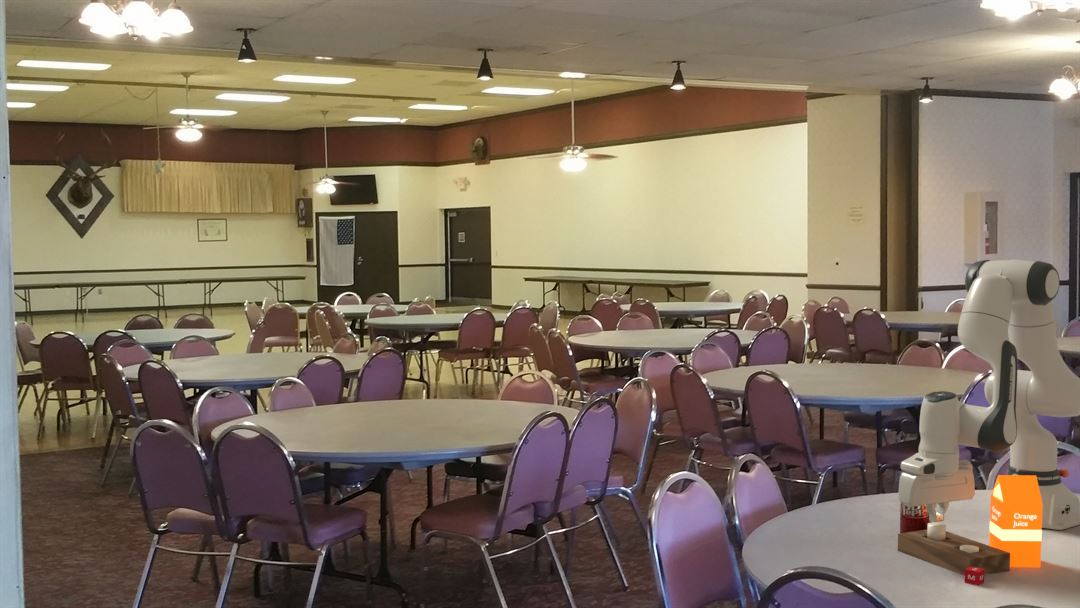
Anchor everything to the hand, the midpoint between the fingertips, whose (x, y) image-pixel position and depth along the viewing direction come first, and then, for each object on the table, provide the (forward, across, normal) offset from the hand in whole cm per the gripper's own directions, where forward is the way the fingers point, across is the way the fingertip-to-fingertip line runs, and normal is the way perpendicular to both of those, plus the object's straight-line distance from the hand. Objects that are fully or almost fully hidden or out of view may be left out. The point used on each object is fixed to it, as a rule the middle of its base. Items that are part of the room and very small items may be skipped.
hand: (936, 521), depth 257 cm
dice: (+8, +7, +19) cm, 22 cm away
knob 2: (+7, 0, +10) cm, 12 cm away
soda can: (+8, -5, -12) cm, 15 cm away
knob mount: (+8, 0, +5) cm, 9 cm away
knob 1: (+5, 0, 0) cm, 5 cm away
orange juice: (+8, -12, +12) cm, 19 cm away
